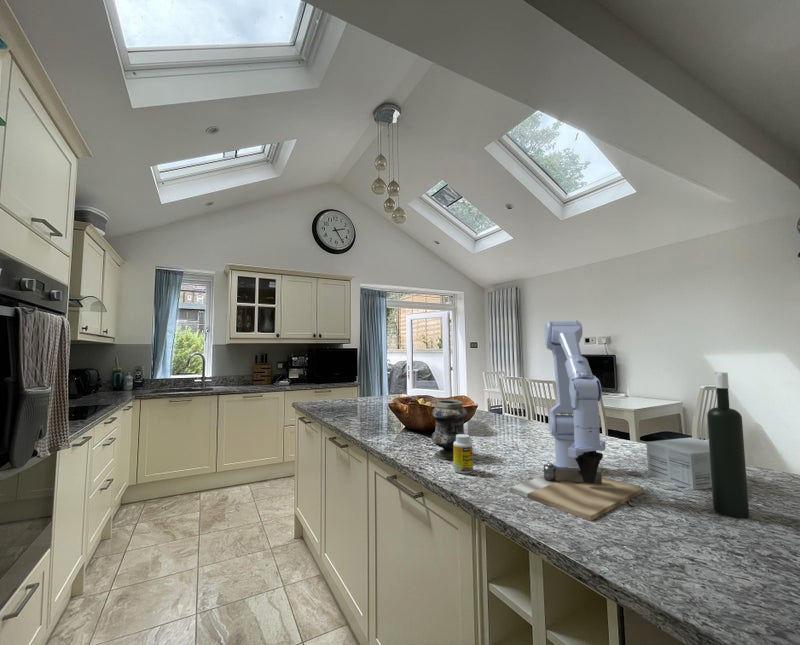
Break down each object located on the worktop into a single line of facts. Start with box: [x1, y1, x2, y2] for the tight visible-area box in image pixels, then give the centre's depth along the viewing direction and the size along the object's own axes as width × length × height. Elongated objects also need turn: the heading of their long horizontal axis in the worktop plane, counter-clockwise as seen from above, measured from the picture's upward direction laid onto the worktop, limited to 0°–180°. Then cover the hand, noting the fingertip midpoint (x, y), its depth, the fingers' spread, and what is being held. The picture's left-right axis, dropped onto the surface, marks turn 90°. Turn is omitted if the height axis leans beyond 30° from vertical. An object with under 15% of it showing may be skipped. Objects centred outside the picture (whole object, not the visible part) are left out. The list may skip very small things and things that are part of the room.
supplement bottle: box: [453, 433, 474, 475], centre depth 108 cm, size 6×6×10 cm
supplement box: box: [645, 437, 712, 491], centre depth 101 cm, size 17×13×9 cm
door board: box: [509, 467, 645, 522], centre depth 92 cm, size 26×20×4 cm
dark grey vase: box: [431, 399, 468, 461], centre depth 125 cm, size 12×12×18 cm
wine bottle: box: [706, 371, 750, 520], centre depth 81 cm, size 6×6×30 cm
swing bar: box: [543, 462, 603, 484], centre depth 96 cm, size 14×3×4 cm, turn 77°
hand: (588, 482), depth 92 cm, fingers closed
